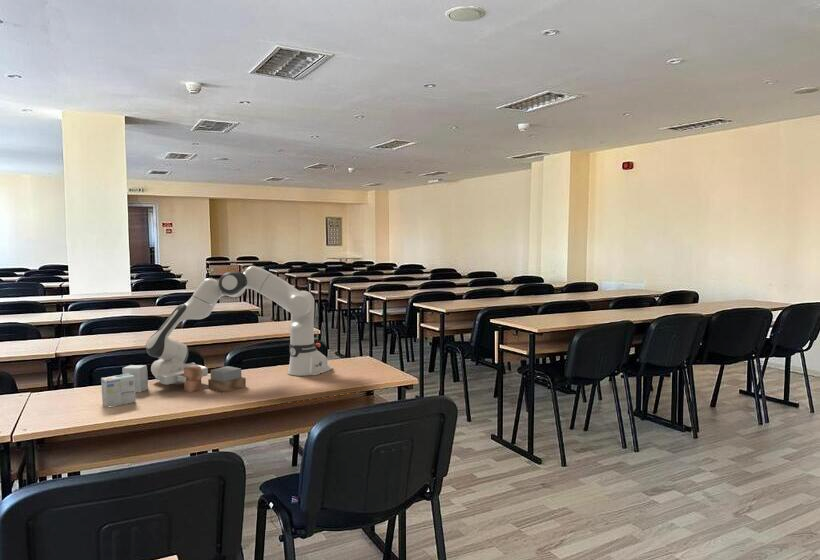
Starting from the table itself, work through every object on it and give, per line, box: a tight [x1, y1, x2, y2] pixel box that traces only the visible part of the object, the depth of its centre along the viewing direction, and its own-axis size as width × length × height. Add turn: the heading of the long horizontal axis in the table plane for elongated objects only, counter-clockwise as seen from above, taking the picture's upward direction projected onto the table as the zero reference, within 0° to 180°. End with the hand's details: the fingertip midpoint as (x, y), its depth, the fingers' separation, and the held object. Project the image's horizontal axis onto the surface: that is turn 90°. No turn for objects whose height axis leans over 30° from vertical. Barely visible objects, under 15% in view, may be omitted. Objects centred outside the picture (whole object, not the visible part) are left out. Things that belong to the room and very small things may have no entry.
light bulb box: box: [100, 373, 137, 408], centre depth 216 cm, size 11×7×11 cm, turn 135°
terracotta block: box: [183, 364, 203, 393], centre depth 235 cm, size 5×5×10 cm
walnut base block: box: [207, 376, 247, 393], centre depth 239 cm, size 11×11×4 cm
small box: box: [121, 364, 149, 393], centre depth 235 cm, size 8×6×10 cm
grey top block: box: [210, 365, 243, 382], centre depth 239 cm, size 9×9×4 cm
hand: (193, 377), depth 234 cm, fingers closed on terracotta block, 5 cm apart
